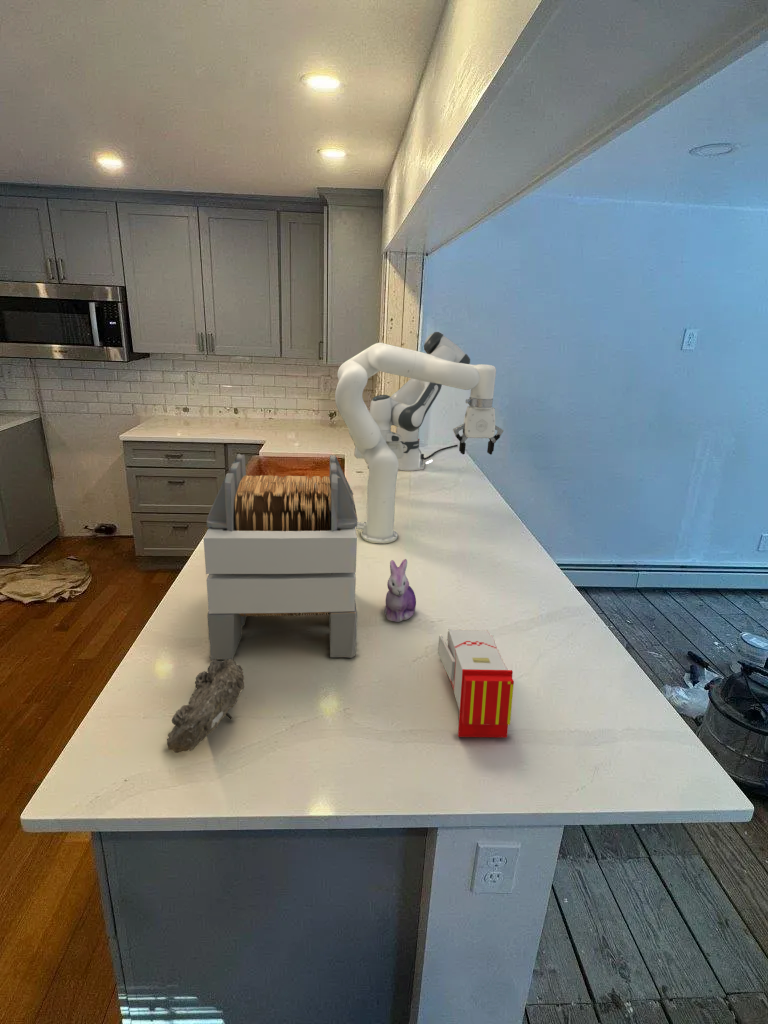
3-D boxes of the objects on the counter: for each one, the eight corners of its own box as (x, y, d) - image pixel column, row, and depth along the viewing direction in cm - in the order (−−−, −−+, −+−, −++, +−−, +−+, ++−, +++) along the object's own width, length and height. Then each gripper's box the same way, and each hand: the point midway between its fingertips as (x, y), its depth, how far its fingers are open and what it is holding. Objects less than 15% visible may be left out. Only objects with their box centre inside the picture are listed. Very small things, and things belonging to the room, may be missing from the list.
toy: (488, 613, 130) (523, 677, 101) (484, 667, 133) (517, 744, 104) (435, 612, 130) (455, 676, 101) (432, 666, 133) (451, 743, 103)
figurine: (392, 627, 141) (395, 572, 136) (374, 608, 149) (376, 556, 144) (425, 619, 145) (429, 566, 140) (405, 601, 154) (408, 550, 149)
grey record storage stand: (230, 589, 156) (222, 444, 142) (349, 588, 159) (352, 446, 146) (207, 662, 124) (194, 484, 110) (356, 658, 128) (362, 486, 114)
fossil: (192, 660, 117) (244, 628, 112) (224, 691, 120) (276, 661, 115) (142, 746, 98) (202, 712, 93) (182, 779, 101) (242, 748, 96)
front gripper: (459, 404, 183) (454, 456, 188) (510, 405, 185) (504, 456, 191) (452, 400, 189) (448, 450, 195) (502, 401, 192) (496, 451, 198)
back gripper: (355, 437, 226) (354, 470, 231) (405, 437, 230) (403, 470, 234) (353, 433, 232) (352, 466, 237) (402, 434, 236) (400, 466, 240)
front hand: (476, 453), depth 193 cm, fingers open, 9 cm apart
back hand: (378, 468), depth 236 cm, fingers closed on block, 6 cm apart
